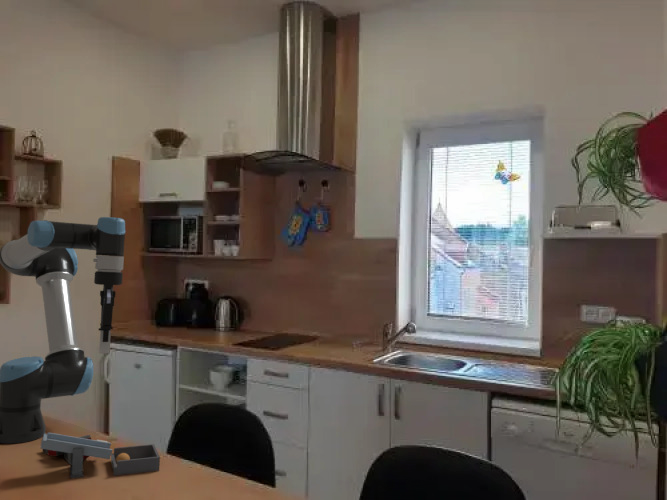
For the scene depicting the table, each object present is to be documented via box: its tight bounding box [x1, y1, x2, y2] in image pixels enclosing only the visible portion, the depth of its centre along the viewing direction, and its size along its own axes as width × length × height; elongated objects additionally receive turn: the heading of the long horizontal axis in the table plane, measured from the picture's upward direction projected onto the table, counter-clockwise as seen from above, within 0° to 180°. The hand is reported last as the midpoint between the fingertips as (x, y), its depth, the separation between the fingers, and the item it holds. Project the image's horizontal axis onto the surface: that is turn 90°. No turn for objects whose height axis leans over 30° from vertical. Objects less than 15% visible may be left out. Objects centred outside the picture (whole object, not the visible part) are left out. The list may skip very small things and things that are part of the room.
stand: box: [69, 447, 84, 479], centre depth 145 cm, size 9×3×7 cm, turn 25°
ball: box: [116, 453, 130, 465], centre depth 150 cm, size 4×4×4 cm
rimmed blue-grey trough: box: [40, 432, 113, 460], centre depth 148 cm, size 12×17×2 cm
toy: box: [42, 434, 92, 465], centre depth 156 cm, size 9×6×15 cm
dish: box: [110, 443, 161, 476], centre depth 151 cm, size 11×11×4 cm
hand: (104, 352), depth 161 cm, fingers closed
